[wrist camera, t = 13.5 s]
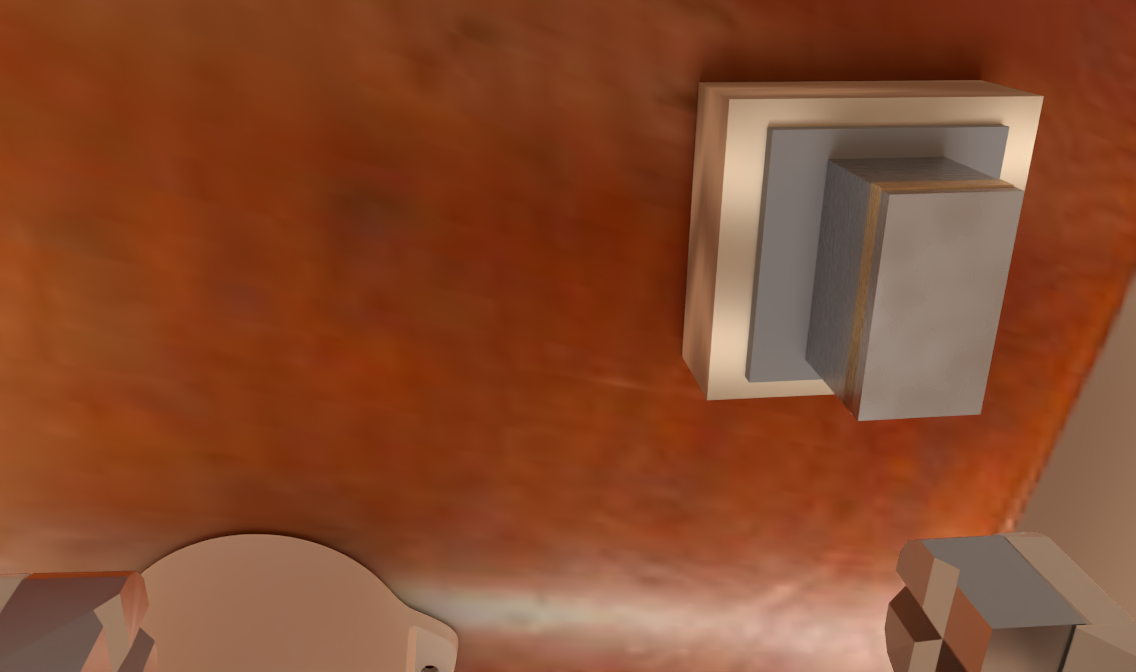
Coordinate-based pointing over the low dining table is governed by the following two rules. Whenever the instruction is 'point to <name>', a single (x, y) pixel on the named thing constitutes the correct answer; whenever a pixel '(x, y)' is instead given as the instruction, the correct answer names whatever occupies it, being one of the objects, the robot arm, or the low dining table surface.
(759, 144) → the stand
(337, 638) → the robot arm
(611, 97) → the low dining table surface
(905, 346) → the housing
